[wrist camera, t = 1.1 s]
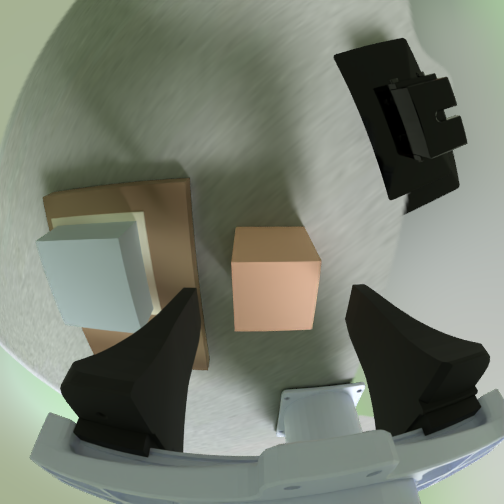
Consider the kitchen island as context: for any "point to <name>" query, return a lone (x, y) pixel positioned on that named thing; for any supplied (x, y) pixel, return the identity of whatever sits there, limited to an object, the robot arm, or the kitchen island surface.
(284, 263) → the top block
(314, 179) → the kitchen island surface
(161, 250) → the build board
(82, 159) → the kitchen island surface
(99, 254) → the base block
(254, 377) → the kitchen island surface
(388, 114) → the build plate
